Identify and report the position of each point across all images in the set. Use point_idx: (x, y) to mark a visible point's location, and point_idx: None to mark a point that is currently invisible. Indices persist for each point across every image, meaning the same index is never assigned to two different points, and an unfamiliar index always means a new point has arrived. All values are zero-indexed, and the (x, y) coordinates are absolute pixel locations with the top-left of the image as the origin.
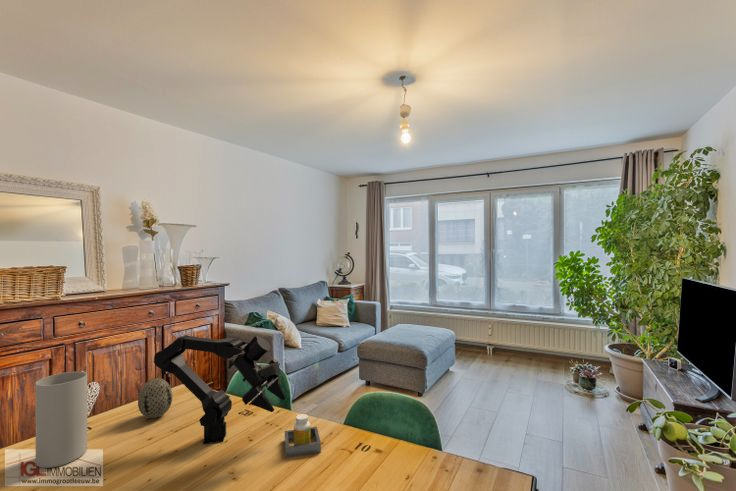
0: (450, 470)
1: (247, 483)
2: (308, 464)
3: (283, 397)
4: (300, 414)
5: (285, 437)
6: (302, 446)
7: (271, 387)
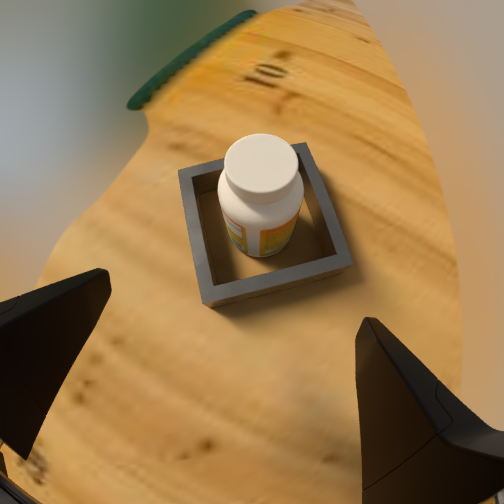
0: (331, 8)
1: (459, 351)
2: (369, 191)
3: (99, 284)
4: (231, 173)
5: (266, 286)
6: (329, 202)
7: (11, 418)
